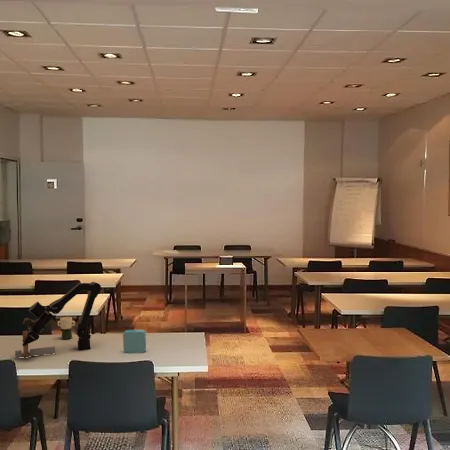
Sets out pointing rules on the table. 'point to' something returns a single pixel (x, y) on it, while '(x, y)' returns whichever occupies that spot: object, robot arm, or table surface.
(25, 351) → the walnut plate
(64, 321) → the character mug
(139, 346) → the teal square block
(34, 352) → the grey crossbar
